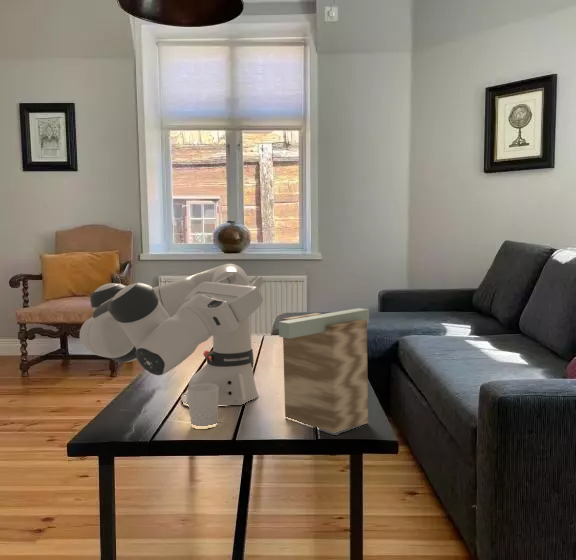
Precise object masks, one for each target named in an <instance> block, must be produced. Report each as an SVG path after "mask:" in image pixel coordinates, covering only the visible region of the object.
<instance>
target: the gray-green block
mask: <svg viewBox="0 0 576 560" xmlns="http://www.w3.org/2000/svg"><path fill="white" fill-rule="evenodd" d="M320 314H321V315H315V316H309V317H303V318H297V319H291V320H285V321H283V320H281V321H278V336H279V337H280V338H283V337H284V338H289V339H290V338H295V337H300V336H305V335H310V334H315V333H320V332H326V331H327V326H328V325H333V324H339V323H344V322H349V321H355V320H360V319H362V320H367V324H370V309H368V308H362V307H361V308H360V307H358V308H351V309H346V310H340V311H334V312H333V311H332V312H328V313H323V314H322V313H320Z"/></svg>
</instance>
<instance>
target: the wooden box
mask: <svg viewBox="0 0 576 560" xmlns="http://www.w3.org/2000/svg"><path fill="white" fill-rule="evenodd" d="M321 314H322V313H320V312H314V313H307V314H303V315H295V316H291V317H284V318H282V321H285V320H291V319H297V318H303V317H309V316H315V315H321ZM367 324H368V323H367V320H362V319H360V320H355V321H349V322H344V323H339V324H333V325H328V326H327V331H326V332H320V333H315V334H310V335H305V336H300V337H295V338H290V339H289V338H284V337H282V343H283V344H282V346H283V347H282V348H283V381H284V383H283V384H284V386H283V387H284V415H285V416H284V418H285V417H288V418H291V419H294V420H297V421H299V422H302V423H304V424H308V425H311V426H315V427H318V428H321V429H324V430H326V431H329V432H332V433H336V432H339V431H342V430H346V429H349V428H352V427H356V426H359V425H363V424H366V423H368V424H369V397H368V395H369V392H368V391H369V390H368V389H369V386H368V384H369V383H368V379H369V378H368V325H367Z"/></svg>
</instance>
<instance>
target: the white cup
mask: <svg viewBox="0 0 576 560" xmlns="http://www.w3.org/2000/svg"><path fill="white" fill-rule="evenodd" d="M186 390H187V392H188V403H189V409H188V410H189V417H190V425H191V424H193V425H196V426H208V425H213V424H216V423H217V422H218V421H219V418H218V417H219V407H218V405H219V386H218V385H216V384H211V383H202V384H195V385H191V386H189V385H188V387H187V388H186ZM218 423H219V422H218Z"/></svg>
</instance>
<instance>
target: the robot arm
mask: <svg viewBox="0 0 576 560" xmlns="http://www.w3.org/2000/svg"><path fill="white" fill-rule="evenodd" d="M251 281H252V282H251ZM251 281H250V279H249V277H248V275H247V273H246V271H245V270H244V269H243V268H242V267H241V266H239V265H238V264H234V263H225V264H221V265H219V266H216V267H212V268H210V269H207V270H204V271H201V272H198V273H196V274H193V275H190V276H187V277H184V278H181V279H177V280H173V281H171V282H168V283H164V284H160V285H157V286H154V287H152V285H150V284H146V283H143V282H135V283H131V284H128V285H124V284H122V283H115V282H111V283H106V284H103V285H101V286H98V288H96V289H95V290H94V291H93V292H92V293H91V294H90V295H89V296H90V297H89V300H90V306H91V307H90V308H92V309H93V310H92V311H93V312H92V316H91V317H89V318H88V319H87V320H85V322H84V323H83V324H82V325H81V327H80V330H79V340H80V343H81V344H82V347H84V348H85V349H86V350H87V351H89V352H90V353H91V354H94V355H95V356H99V357H103V358H108V359H111V360H113V361H114V362H117V363H130V362H134V361H136V360H137V361H138V363H139V364H140V365H141V366H142V368H143V369H144V370H145V371H147V372H148V373H149V374H152V375H155V376H163V375H165V374H168V372H170V371H172V370H174V369H175V368H176V367H178V366H179V365H180V364H182V363H183V362H184V361H185V360H187V359H188V358H190V356H192V354H193V353H195V352H196V349H197V348H198V346H199V345H201V344H203V343H205V342H207V341H208V340H209V339H210V338H212V342H213V343H212V346H213V347H212V348H213V350H211V351H209V350H204V351H203V357H204V358H206V364H205V365H204V366H203V367H202V368H201V369H199V370H198V371H197V372H195V374H193V375H192V376H191V378H190V380H189V383H188V387H189V386H191V385H195V384H202V383H211V384H216V385H218V386H219V405H242V404H244V405H246V404H247V403H249V402H251V401H250V400H252V401H254V400H255V398H256V399H257V398H258V397H259V393H258V391H257V386H256V382H255V377H254V369H253V368H254V363H255V362H254V350H253V348H252V336H251V335H252V332H251V331H252V329H251V315H252V314H254V313H255V311H257V310H258V308H260V306H261V305H263V302H264V301H263V300H264V297H263V295H262V293H261V291H260V287H261V286H262V285H264V283H265V280H264V279H263V277H262V276H255V277H254V278H253V279H251ZM250 282H251V283H250ZM184 395H186V396H184ZM181 399H182V401H183V402H184V403H186V402H187V403H186V404H188V405H189V403H188V391H187V392H186V391H185V392H184V393H182V394H181V397H180V400H181ZM253 399H254V400H253ZM248 401H249V402H248ZM246 402H247V403H246ZM245 403H246V404H245ZM242 406H243V405H242Z"/></svg>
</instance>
